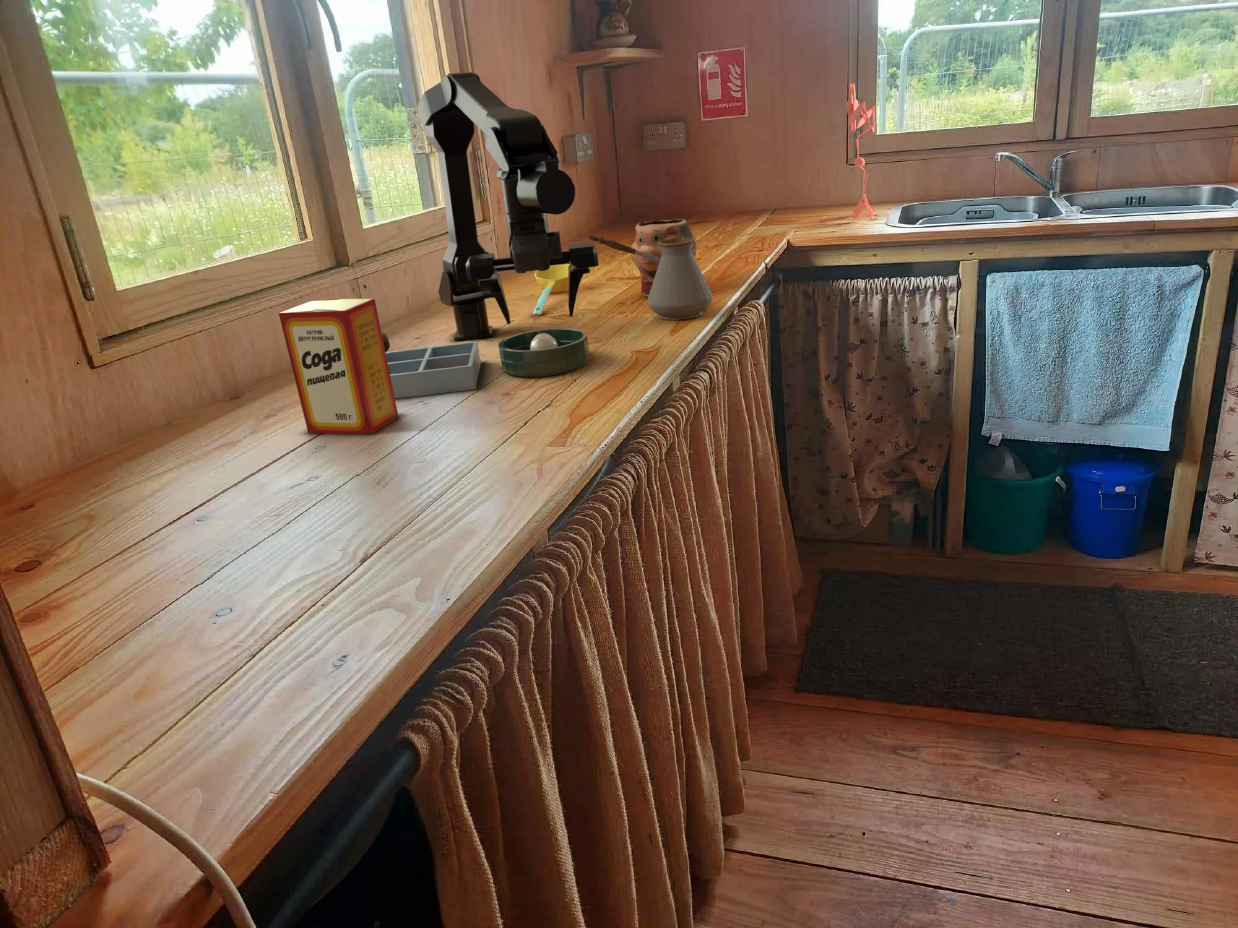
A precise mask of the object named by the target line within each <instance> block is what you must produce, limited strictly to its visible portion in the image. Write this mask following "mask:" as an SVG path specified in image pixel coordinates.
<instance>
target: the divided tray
mask: <svg viewBox="0 0 1238 928" xmlns="http://www.w3.org/2000/svg"><path fill="white" fill-rule="evenodd" d="M386 357H387V362H388V367H389V372H390V377H391V382H392V387H393V392H394V397H395V400H396V399H402V398H403V399H404V398H412V397H420V396H429V395H436V394H444V393H446V394H447V393H453V392H463V391H471V390H476V389H477V383H478V379H479V374H480V370H481V365H482V360H481V359H482V358H481V354H480V348H479V341H469V342H461V343H452V344H444V345H436V346H435V345H434V346H426V347H418V348H417V347H416V348H409V349H399V350H392V351H387V352H386Z"/></svg>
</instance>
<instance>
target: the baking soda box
mask: <svg viewBox="0 0 1238 928" xmlns="http://www.w3.org/2000/svg"><path fill="white" fill-rule="evenodd" d="M278 317H279V320H280V324H281V328H282V333H283V338H284V341H285V345H286V348H287V353H288V357H289V361H290V365H291V369H292V373H293V377H294V381H295V385H296V390H297V393H298V398H299V401H300V406H301V410H302V414H303V418H304V422H305V426H306V430H307V433H308V434H345V435H347V434H349V435H351V434H352V435H355V434H356V435H372V434H374V433H376V432H377V431H378V430H380V429H381V428H383V427H385V426H386V425H388V424H389V423H391V422H392V421H394V420H395V419H397V418H398V417H399V412H398V407H397V402H396V399H395V397H394V392H393V387H392V382H391V377H390V372H389V367H388V362H387V357H386V352H385V348H384V343H383V338H382V333H381V331H382V328H381V323H380V319H379V313H378V309H377V303H376V299H375V298H339V299H337V300H336V299H335V300H310V301H308V302H305V303H302V304H299V305H297V306H294V307H291V308H289V309H286V310H284V311H281V312H278Z"/></svg>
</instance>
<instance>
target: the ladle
mask: <svg viewBox="0 0 1238 928" xmlns="http://www.w3.org/2000/svg"><path fill="white" fill-rule="evenodd" d="M568 266H570V265H569V263H568V264H560V265H551V266H550V268H549V269H548V270H545V271H539V270H535V271H534V277H535V281H536V282H537V284H538V285H539V286H540V287H541V289H543V291H542V292H541V294H540V296H539V298H538V300H537V302H536V305H535V307H534V310H533V313H532V314H533V316H541V315H542V313H543V310H544V307H545V304H546V301H547V299H548V297H549V294H550V293H553V294H559V293H562V292H564V291H566V290H568Z"/></svg>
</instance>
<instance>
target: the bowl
mask: <svg viewBox="0 0 1238 928" xmlns="http://www.w3.org/2000/svg"><path fill="white" fill-rule="evenodd" d="M542 333H546V334H549V335H551V336H553V337H554V338H555V340H556V341H557V344H558V347H555V348H550V349H541V350H530V344H531V341H532V340H533V338H534V337H535V336H537V335H538V334H542ZM498 352H499V358H500V366H501V369H502V370H503V371H504V372H505V373H507V374H508V375H510V376H514V377H520V378H542V377H552V376H557V375H562V374H565V373H569V372H572V371H576V370H578V369H580V368H582V367H584V365H586V363H587V362H588V361H589V360H590V348H589V338H588V333H587V332H586V331H584V330H581V329H578V328H577V329H576V328H568V327H567V328H566V327H556V328H555V327H554V328H543V329H535V330H530V331H525V332H521V333H517V334H513V335H511V336H509V337H506V338H503V339H502V340H501V341H500V342H498Z"/></svg>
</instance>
